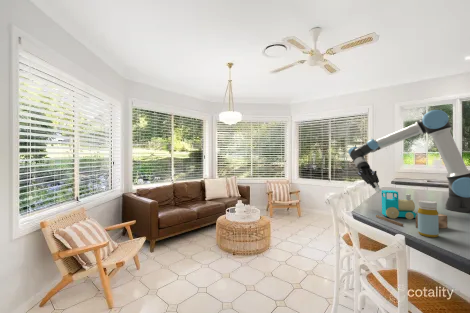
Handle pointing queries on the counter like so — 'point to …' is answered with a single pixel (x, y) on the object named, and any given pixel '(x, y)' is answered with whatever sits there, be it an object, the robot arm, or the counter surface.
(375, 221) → the counter surface
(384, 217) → the rail far
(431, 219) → the bottle
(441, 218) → the buffer stop
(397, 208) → the toy train
